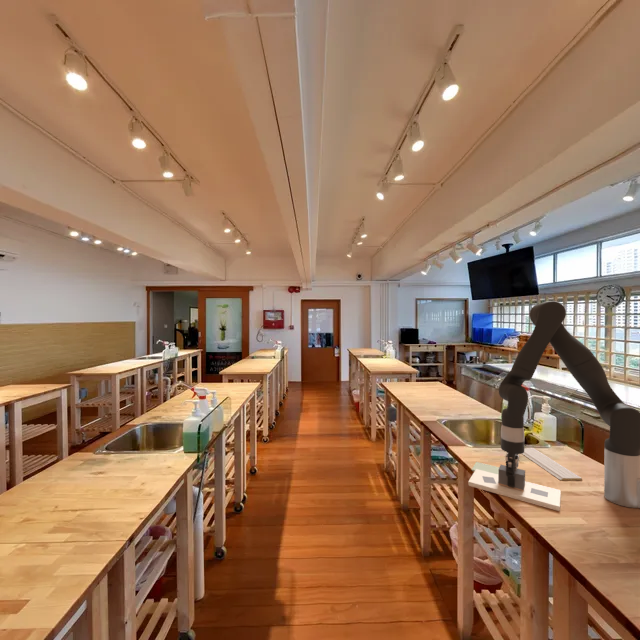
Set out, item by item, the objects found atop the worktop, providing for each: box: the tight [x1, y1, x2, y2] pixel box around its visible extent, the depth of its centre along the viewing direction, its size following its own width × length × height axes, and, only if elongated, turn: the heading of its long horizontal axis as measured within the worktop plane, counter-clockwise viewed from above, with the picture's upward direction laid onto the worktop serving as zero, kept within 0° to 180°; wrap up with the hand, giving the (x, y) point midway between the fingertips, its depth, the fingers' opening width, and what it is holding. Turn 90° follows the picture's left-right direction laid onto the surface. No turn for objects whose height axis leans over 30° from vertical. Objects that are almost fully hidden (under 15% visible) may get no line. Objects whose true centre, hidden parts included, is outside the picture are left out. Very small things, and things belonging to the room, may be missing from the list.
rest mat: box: [471, 461, 500, 474], centre depth 138 cm, size 12×9×1 cm
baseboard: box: [521, 444, 583, 481], centre depth 145 cm, size 30×3×10 cm
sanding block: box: [498, 464, 526, 491], centre depth 123 cm, size 8×5×6 cm, turn 53°
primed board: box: [467, 469, 562, 512], centre depth 123 cm, size 28×13×2 cm, turn 53°
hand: (512, 483), depth 123 cm, fingers closed on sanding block, 5 cm apart
